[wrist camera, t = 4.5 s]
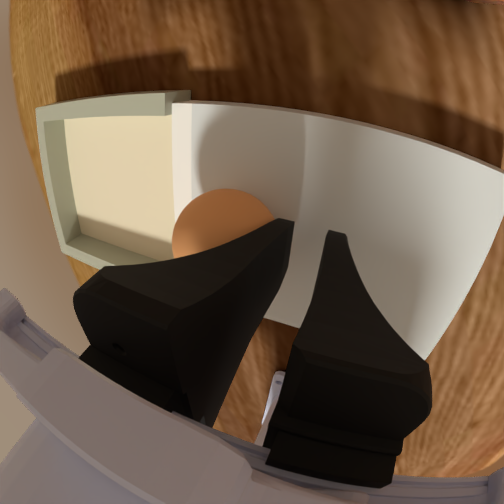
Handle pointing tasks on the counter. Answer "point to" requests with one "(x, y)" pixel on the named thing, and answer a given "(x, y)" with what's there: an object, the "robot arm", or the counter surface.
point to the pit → (111, 175)
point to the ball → (217, 220)
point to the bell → (487, 1)
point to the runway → (350, 204)
